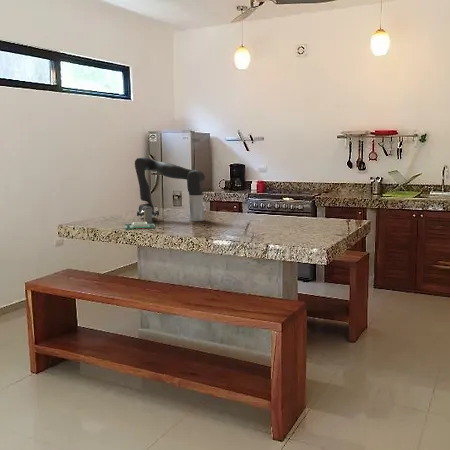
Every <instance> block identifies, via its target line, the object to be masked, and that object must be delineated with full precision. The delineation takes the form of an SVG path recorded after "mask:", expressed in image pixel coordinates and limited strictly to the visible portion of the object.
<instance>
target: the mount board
mask: <svg viewBox="0 0 450 450" xmlns="http://www.w3.org/2000/svg"><path fill="white" fill-rule="evenodd" d="M134 228H153V229H156V225H155V223H154V222H152V223H147V222H144V221H137V222H136V221H134V222H129V223H127V222H126V223H124V230H125V229H131V230H135V229H134Z"/></svg>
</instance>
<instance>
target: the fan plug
mask: <svg viewBox="0 0 450 450" xmlns="http://www.w3.org/2000/svg"><path fill="white" fill-rule="evenodd" d="M143 222H147V223H153V216H152V208H151V207H146V208H145V210H144V216H143Z"/></svg>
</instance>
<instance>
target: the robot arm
mask: <svg viewBox="0 0 450 450" xmlns="http://www.w3.org/2000/svg"><path fill="white" fill-rule="evenodd" d="M134 168H135V173H136V177H137V181H138V185H139V197H140V200H141V201H142V202H143V201H144V202H147V203H141V204H139V206H138V211H136V216H137V217H139V216H140V217H144V210H145V208H146V207H151V208H152V217H156V216H160V211H159V210H155V208H154V204H153V200H152V197H151V187H150V184H149V183H148V181H147V178H146V171H151V172H152V171H153V172H155V173H158V174H160V175H161V176H163V177H165V178H169V179H175V180H176V179H177V180H179V179H180V180H186V185H187V186H186V187H187V192H188V208H189V210H188V212H189V216H188V217H189V221H190V222H203V221H205V216H204V215H205V210H204V209H205V208H204V196H203V195H204V191H203V190H202V189H201V184H202V183H203V182H204V181H205V179H206V176H205V174H204V172H203V171H201V170H197V169H191V168H186V167H182V166H180V165H176V164H172V163H168V162H165V161H158V160H155V159H153V158H150V157H147V156H143V157H136V159H135V160H134Z"/></svg>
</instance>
